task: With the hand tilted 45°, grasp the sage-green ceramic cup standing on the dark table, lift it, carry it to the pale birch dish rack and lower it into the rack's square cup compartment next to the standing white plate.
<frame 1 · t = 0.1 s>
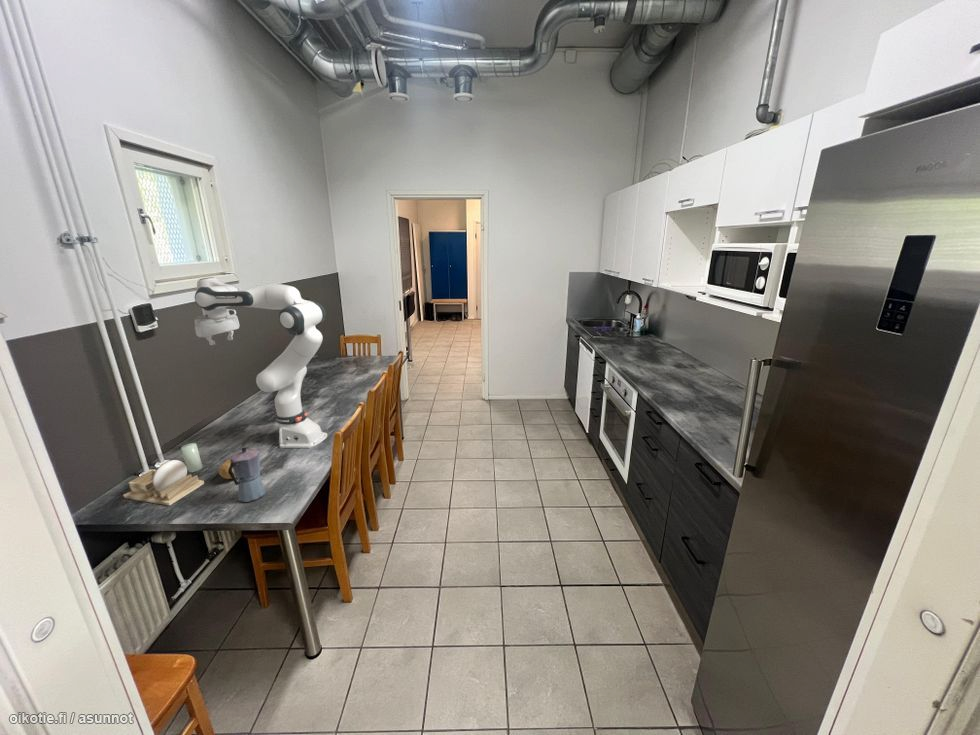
hand: (221, 342, 180), 48 cm above the table, tool pointing down, fingers open, 8 cm apart
moka pot: (252, 496, 145), on the table
potato: (237, 475, 159), on the table
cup: (195, 468, 164), on the table
rack: (165, 490, 149), on the table
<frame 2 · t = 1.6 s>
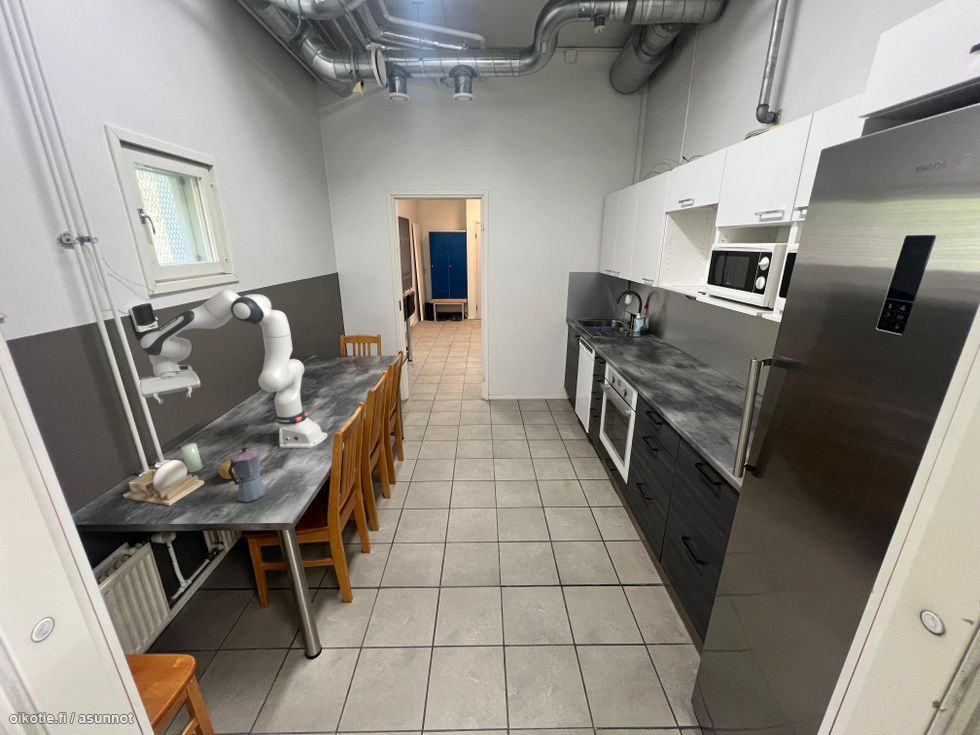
hand: (175, 400, 164), 28 cm above the table, tool tilted 45°, fingers open, 8 cm apart
nothing on the table moved.
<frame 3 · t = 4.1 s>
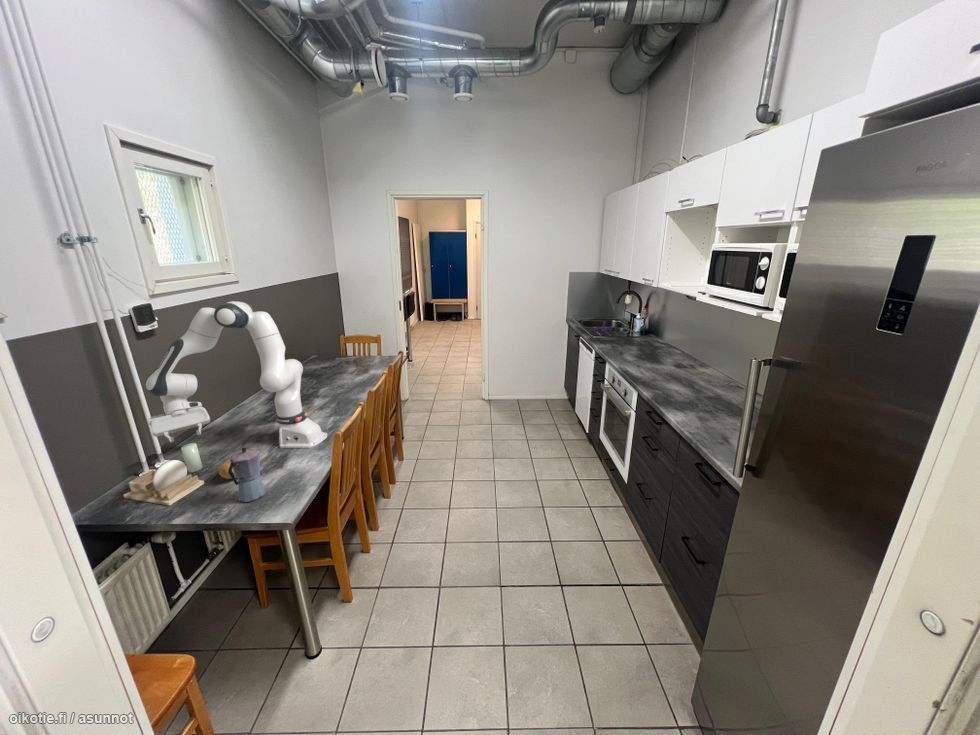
hand: (186, 437, 165), 12 cm above the table, tool tilted 45°, fingers open, 8 cm apart
nothing on the table moved.
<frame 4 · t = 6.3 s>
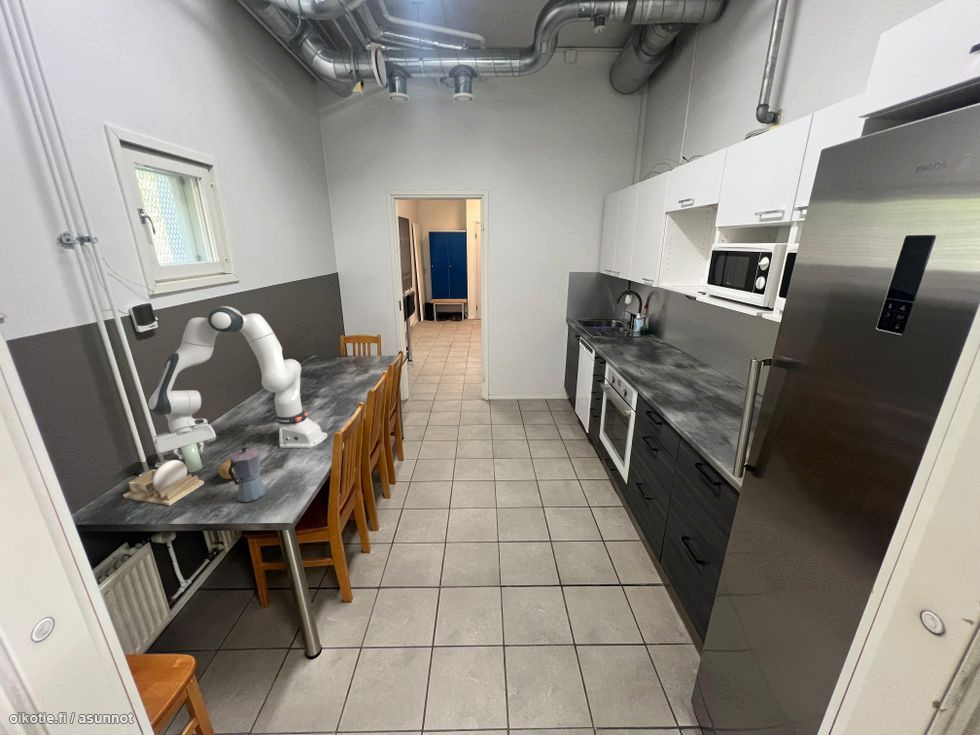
hand: (191, 456, 162), 6 cm above the table, tool tilted 45°, fingers closed on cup, 5 cm apart
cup: (195, 468, 164), on the table, touching gripper
everything else where it was.
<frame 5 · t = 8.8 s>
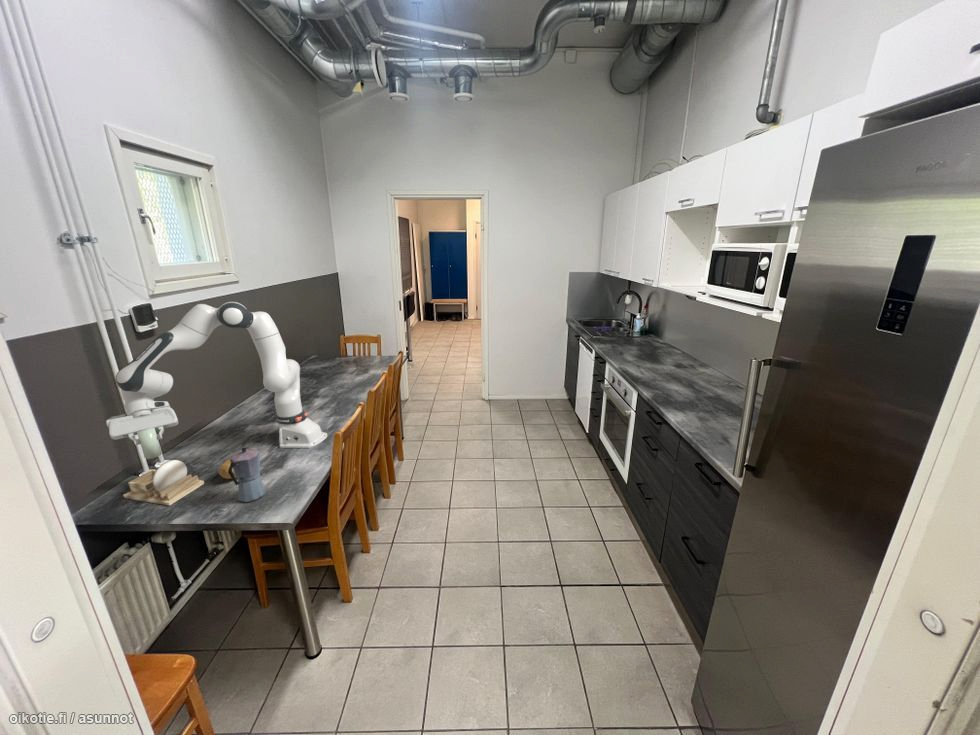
hand: (149, 441, 148), 19 cm above the table, tool tilted 45°, fingers closed on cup, 5 cm apart
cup: (153, 455, 150), point 13 cm above the table, touching gripper
everything else where it was.
when the fingers open (9 cm above the table, at t = 11.3 s): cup drops 1 cm, resting on rack.
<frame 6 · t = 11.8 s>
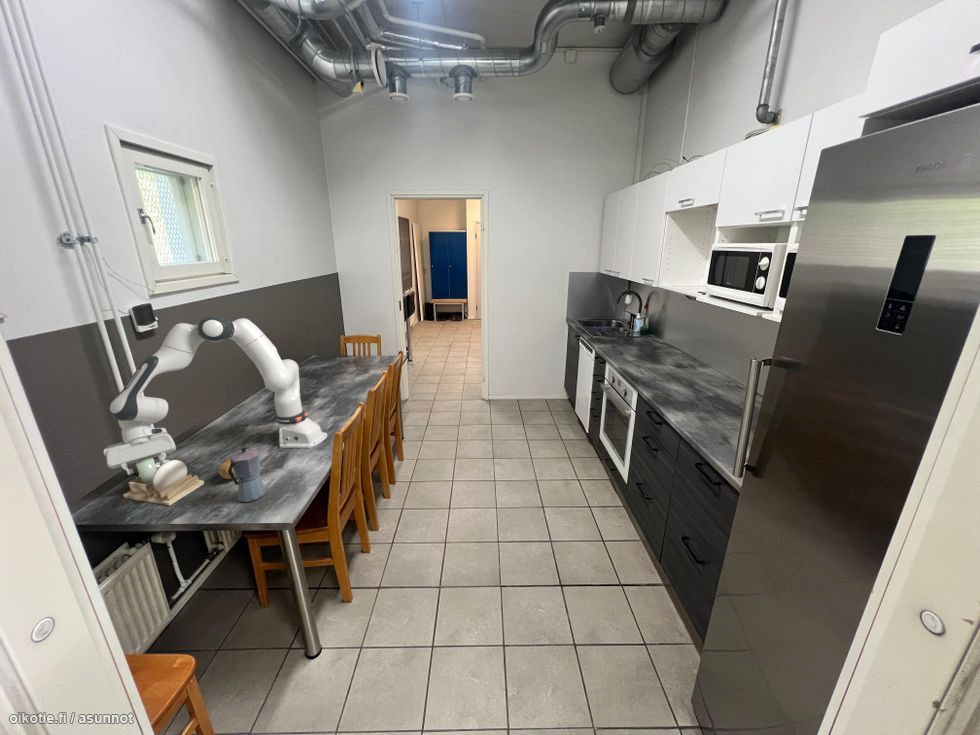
hand: (147, 469, 147), 9 cm above the table, tool tilted 45°, fingers open, 8 cm apart
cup: (153, 485, 150), point 1 cm above the table, touching rack
everything else where it was.
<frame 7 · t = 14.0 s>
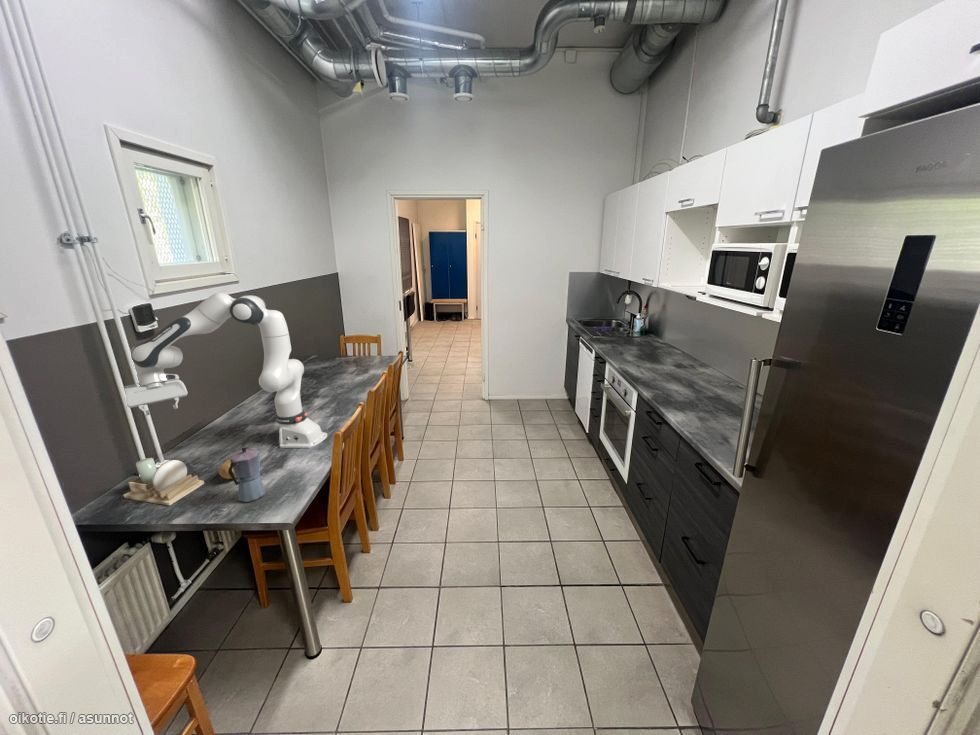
hand: (162, 411, 161), 25 cm above the table, tool tilted 25°, fingers open, 8 cm apart
nothing on the table moved.
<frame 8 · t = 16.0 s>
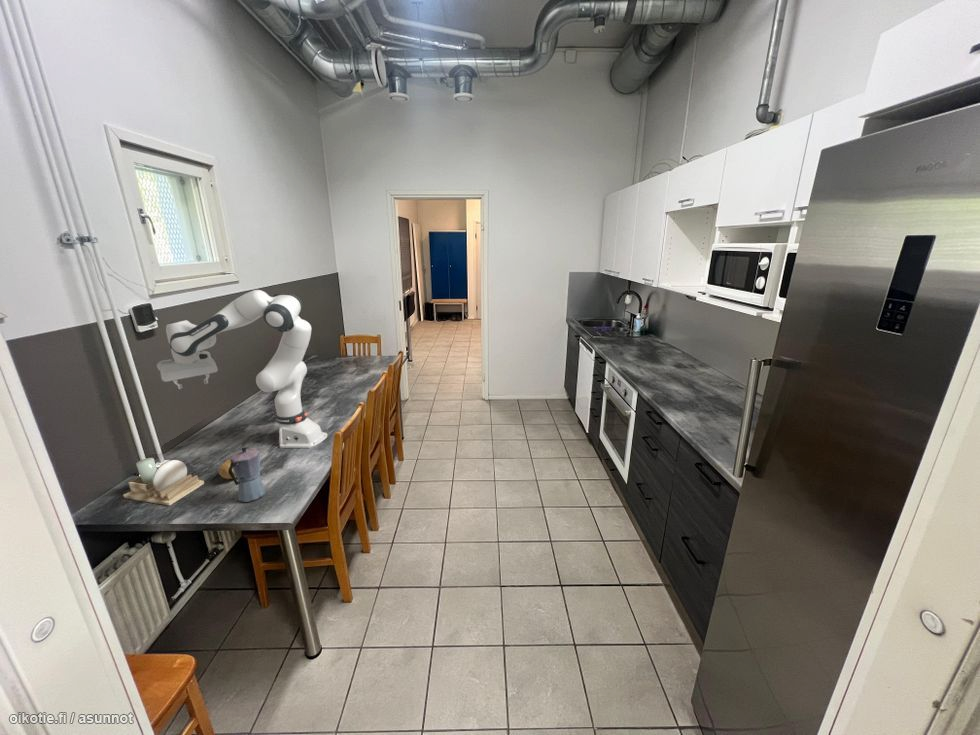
hand: (193, 385, 173), 31 cm above the table, tool pointing down, fingers open, 8 cm apart
nothing on the table moved.
at the end: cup 0.1 cm from the target spot on the rack, point 1.3 cm above the rack's base; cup tilted 1°; the gripper is holding nothing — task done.
